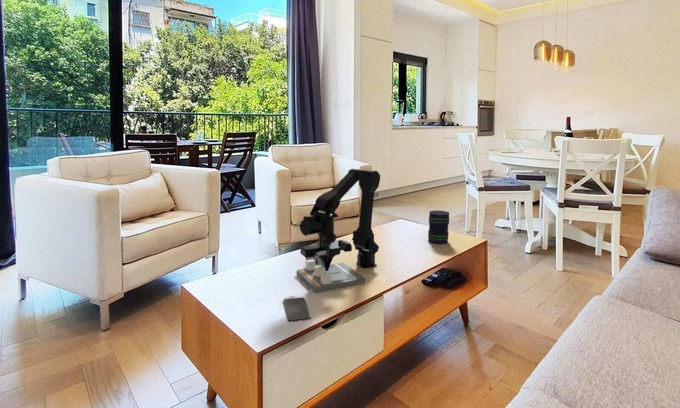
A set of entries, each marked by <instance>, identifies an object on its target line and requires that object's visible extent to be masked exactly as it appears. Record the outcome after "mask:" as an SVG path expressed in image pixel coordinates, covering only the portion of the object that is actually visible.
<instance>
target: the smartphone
mask: <svg viewBox="0 0 680 408" xmlns="http://www.w3.org/2000/svg"><path fill="white" fill-rule="evenodd" d="M283 303H284V304H283V305H284V309H285V314H286V319H287V322H288V323H292V322H291V321H293V322H299V320H300V321H301V320H302V321H309V320H308V319H310V320H311V319H312V318H311V316H310V312H309V309H308V306H307V302H306V300H305V297H303V296H302V297H293V298H285V299H284V298H283Z"/></svg>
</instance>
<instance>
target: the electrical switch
mask: <svg viewBox="0 0 680 408" xmlns="http://www.w3.org/2000/svg"><path fill="white" fill-rule="evenodd" d="M317 243H318V242H315V243H312V244H310V245H311V246H312V247H314V248H316V247H319V246H318V245H317ZM311 259H313V260H314V261H315V266H318V265H323V264H322V261H321V259H320V257H319V256H318V255H315V256H314V257H309V258H306V257H305V261H306V260H311Z"/></svg>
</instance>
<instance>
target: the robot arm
mask: <svg viewBox="0 0 680 408" xmlns="http://www.w3.org/2000/svg"><path fill="white" fill-rule="evenodd" d="M380 181H381V174H380V173H379V172H378V171H377V170H372V169H362V170H361V169H358V168H351V169H349V170H348V172H347V173H346V174H345V175H344V176H343V178H341V179H340V180H339V181H338V182H337V183H336V184H335V186H334V187H332V189H330V190H329V191H326V192H324V193H322V194H320V195H319V196H318V197H317V198H316V199H315V203H314V205H313V206H312V209H311V211H310V212H309V215H304V216H303V219H302V220H301V221H300V224H299V230H300V232H301V234H302V235H303V236H305V237H306V236H311V235H315V234H316V235H317V236H318V242H316V243H317V245H318V246H319V247H316V248H314V247H312V246H311V245H312V244H310V245H304V246H301V248H300V255H302V256H303V257H304V258H305V259H306V258H309V257H314V256H315V255H318V256H319V257H320V259H321V261H322V265H323V266H324V267H325V271H328V270H329V267H330V265H331V264H332V261H333V259H334V257H336V256H340V255H341V251H343V252H344V253H345V252H346V253H347V252H352V250H353V248H352V247H353V246H354V249H355V250H356V251H358V253H357V254H356V256H357V258H356V260H357V261H356V265H358V266H359V267H361V268H363V269H366V268H367V269H368V268H372V267H377V265H378V264H377V263H376V254H377V252H379V249H380V247H379V245H378V244H377V242H375V234H374V231H373V230H372V219H373V210H374V209H373V208H374V200H375V199H374V198H375V192H376V191H377V189H378V188H379V186H380ZM357 183H358V186H359V187H360V190H361V197H360V201H361V202H360V210H359V220H358V221H359V222H358V227H357V228H356V229H355V230H353V232H352V239H351V241H352V243H353V245H352V244H351V243H350V242H348V241H346V240H345V239H338V240H337V236H336V233H335V218H338V217H339V215H338V214H337V213H336V211H337V209H338V208H339V206H340V204H341V200H342V198H344V196H346V195H347V193H348V192H349V191H350V190H351V189H352V187H354V185H355V184H357Z"/></svg>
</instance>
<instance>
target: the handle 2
mask: <svg viewBox="0 0 680 408" xmlns="http://www.w3.org/2000/svg"><path fill="white" fill-rule="evenodd" d="M321 283H322V284H323V285H324V284H330V283H331V273H330V272H323V273H321Z"/></svg>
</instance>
